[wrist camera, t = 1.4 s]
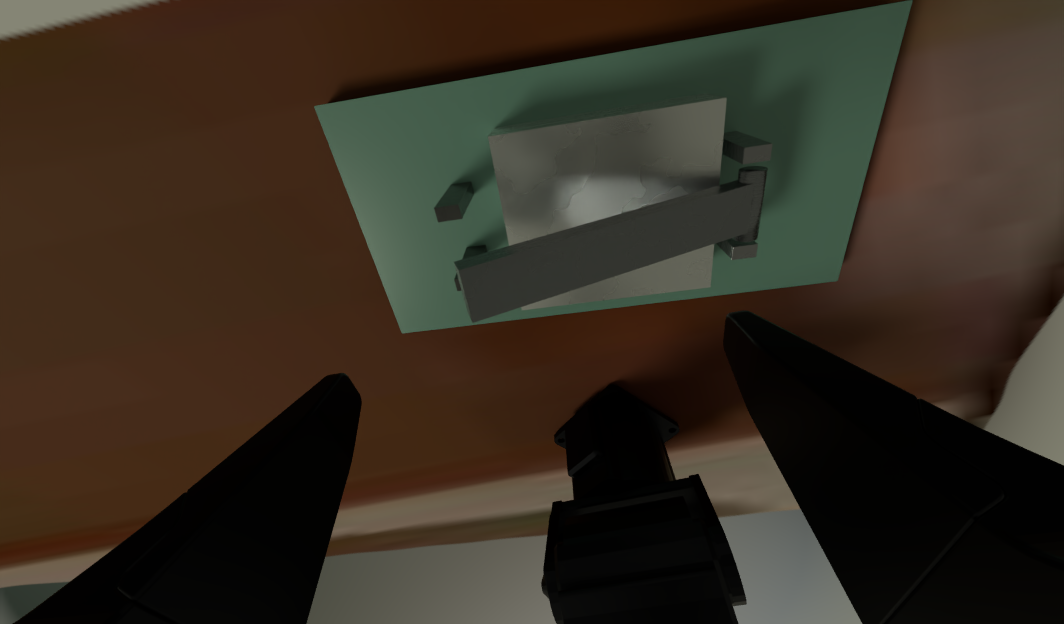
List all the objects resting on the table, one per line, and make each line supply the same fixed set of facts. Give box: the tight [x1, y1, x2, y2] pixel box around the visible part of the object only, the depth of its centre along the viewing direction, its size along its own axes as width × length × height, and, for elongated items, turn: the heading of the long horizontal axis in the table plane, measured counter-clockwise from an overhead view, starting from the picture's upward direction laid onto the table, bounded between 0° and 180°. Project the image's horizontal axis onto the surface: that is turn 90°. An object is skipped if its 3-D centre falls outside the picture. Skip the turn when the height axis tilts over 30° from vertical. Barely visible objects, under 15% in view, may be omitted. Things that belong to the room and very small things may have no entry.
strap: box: [454, 166, 768, 323], centre depth 15 cm, size 12×3×1 cm, turn 99°
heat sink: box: [434, 93, 773, 310], centre depth 18 cm, size 13×8×4 cm, turn 99°
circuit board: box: [314, 0, 913, 333], centre depth 20 cm, size 24×12×1 cm, turn 99°
